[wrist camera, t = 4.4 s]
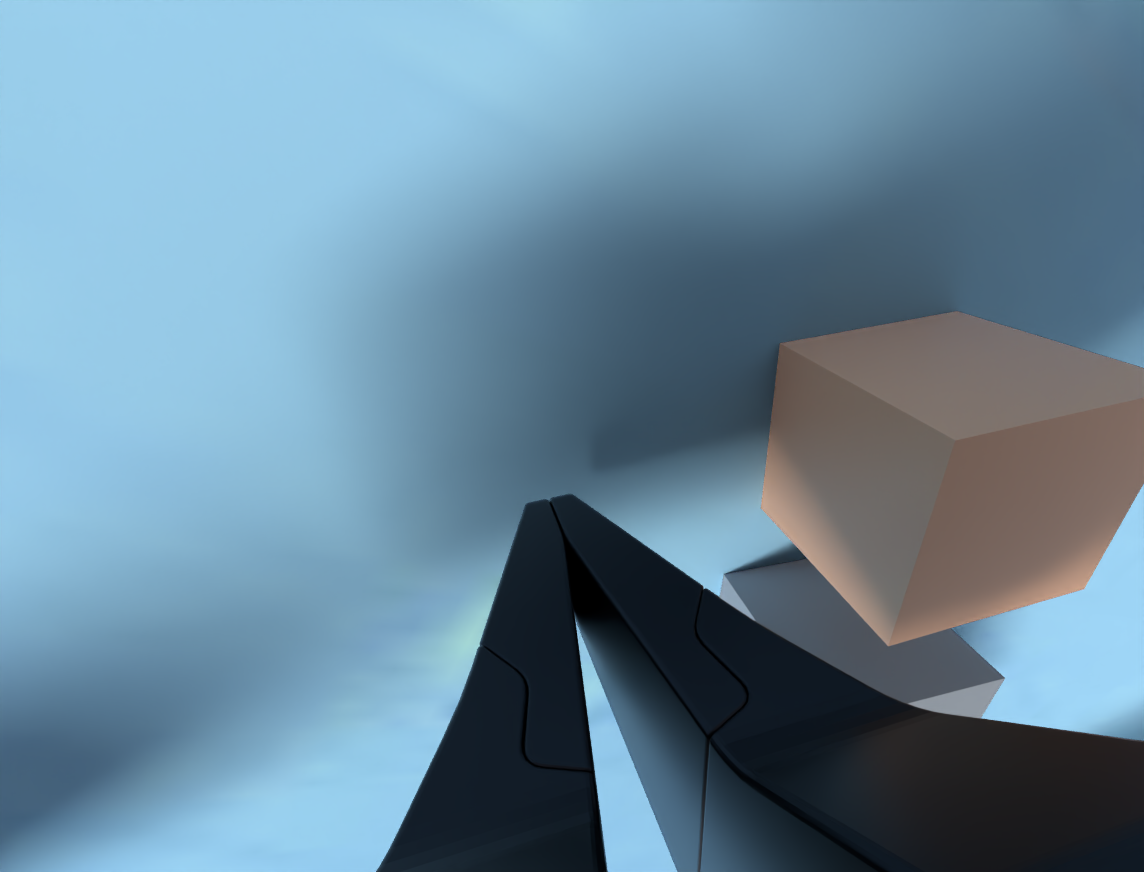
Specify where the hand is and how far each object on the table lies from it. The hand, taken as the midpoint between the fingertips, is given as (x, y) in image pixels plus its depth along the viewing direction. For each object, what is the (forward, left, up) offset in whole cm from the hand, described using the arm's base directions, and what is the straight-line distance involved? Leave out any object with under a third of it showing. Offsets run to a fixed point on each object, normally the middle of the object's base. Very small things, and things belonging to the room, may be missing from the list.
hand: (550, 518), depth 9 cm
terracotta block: (0, -7, -1) cm, 7 cm away
